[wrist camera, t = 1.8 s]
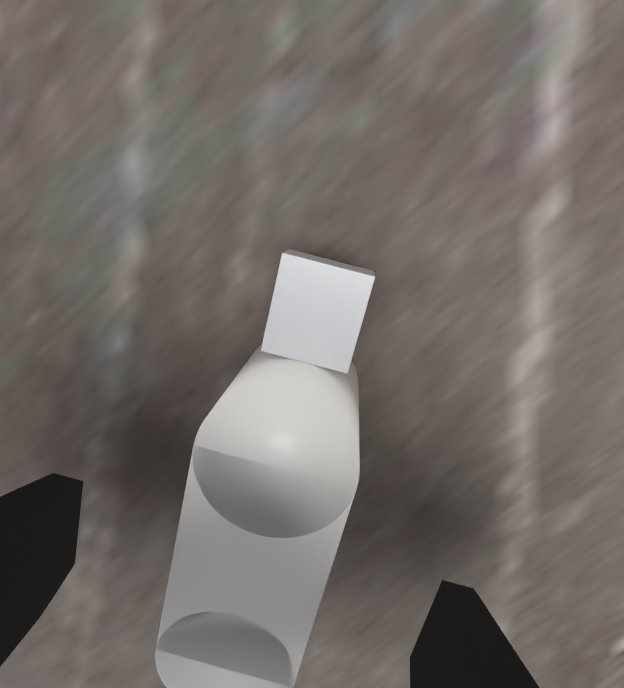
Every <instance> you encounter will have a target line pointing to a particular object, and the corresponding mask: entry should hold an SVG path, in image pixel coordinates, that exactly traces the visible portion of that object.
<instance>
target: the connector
mask: <svg viewBox="0 0 624 688" xmlns="http://www.w3.org/2000/svg"><path fill="white" fill-rule="evenodd" d="M374 279H375V274H374V271H372V270H368V269H364V268H360V267H356V266H353V265H349V264H345V263H341V262H337V261H333V260H329V259H326V258H322V257H318V256H314V255H310V254H306V253H302V252H298V251H295V250H291V249H289V250H287V251H285V252H283V253H282V257H281V262H280V266H279V271H278V275H277V280H276V284H275V289H274V293H273V298H272V302H271V307H270V311H269V316H268V320H267V325H266V329H265V334H264V338H263V343H262V344H261V345H260V346H259V347H258V348H257V349H256V350H255V351H254V353H253V354H252V355H251V357H250V358H249V360H248V361H247V362H246V364H245V365H244V366H243V368H242V369H241V370H240V372H239V373H238V375H237V376H236V377H235V379H234V380H233V381H232V383H231V384H230V385H229V387H228V388H227V389H226V391H225V392H224V394H223V395H222V396H221V398H220V399H219V400H218V402H217V403H216V404H215V406H214V407H213V408H212V410H211V411H210V413H209V414H208V415H207V417H206V418H205V420H204V421H203V423H202V424H201V426H200V428H199V430H198V432H197V435H196V438H195V442H194V445H193V451H192V456H191V462H190V467H189V472H188V478H187V483H186V488H185V494H184V499H183V504H182V510H181V515H180V521H179V526H178V531H177V537H176V542H175V547H174V553H173V558H172V564H171V569H170V574H169V580H168V585H167V590H166V596H165V601H164V607H163V612H162V617H161V623H160V628H159V633H158V639H157V644H156V650H155V664H156V668H157V672H158V674H159V677H160V679H161V680H162V682H163V684H164V685H165V687H166V688H293V686H294V683H295V680H296V677H297V674H298V671H299V668H300V665H301V661H302V658H303V655H304V652H305V649H306V646H307V643H308V640H309V636H310V633H311V630H312V627H313V624H314V621H315V618H316V614H317V611H318V608H319V605H320V602H321V599H322V596H323V593H324V589H325V586H326V583H327V580H328V577H329V574H330V571H331V568H332V564H333V561H334V558H335V555H336V552H337V549H338V546H339V543H340V539H341V536H342V533H343V530H344V527H345V524H346V521H347V518H348V514H349V511H350V508H351V505H352V502H353V499H354V496H355V492H356V489H357V485H358V481H359V472H360V457H359V385H358V376H357V371H356V368H355V365H354V363H353V361H352V356H353V352H354V349H355V345H356V342H357V339H358V335H359V332H360V328H361V325H362V321H363V318H364V314H365V311H366V307H367V304H368V300H369V297H370V293H371V290H372V286H373V283H374Z"/></svg>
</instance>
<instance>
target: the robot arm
mask: <svg viewBox="0 0 624 688" xmlns="http://www.w3.org/2000/svg"><path fill="white" fill-rule="evenodd" d="M82 488H83V481H80V480H77V479H73V478H69V477H66V476H62V475H58V474H55V473H53V474H50V475H48V476H46V477H43V478H41V479H39V480H36V481H34V482H32V483H30V484H27V485H25V486H23V487H21V488H19V489H16V490H14V491H12V492H10V493H8V494H5V495H3V496H1V497H0V666H1V665H2V664H3V662H4V661H5V660H6V659H7V657H8V656H9V655H10V654H11V653H12V651H13V650H14V649H15V648H16V646H17V645H18V644H19V643H20V641H21V640H22V639H23V638H24V636H25V635H26V634H27V633H28V631H29V630H30V629H31V628H32V626H33V625H34V624H35V622H36V621H37V620H38V619H39V617H40V616H41V615H42V613H43V612H44V610H45V609H46V607H47V606H48V604H49V603H50V601H51V600H52V598H53V597H54V595H55V594H56V592H57V591H58V589H59V588H60V586H61V584H62V583H63V581H64V580H65V578H66V577H67V575H68V573H69V572H70V570H71V569H72V567H73V565H74V564H75V556H76V546H77V536H78V527H79V517H80V507H81V497H82ZM410 688H539V686H538V685H537V683H536V682H535V680H534V679H533V677H532V676H531V674H530V673H529V671H528V670H527V669H526V667H525V666H524V664H523V663H522V661H521V659H520V658H519V656H518V655H517V653H516V652H515V650H514V649H513V647H512V646H511V644H510V643H509V641H508V640H507V638H506V637H505V635H504V634H503V632H502V631H501V629H500V628H499V626H498V624H497V623H496V621H495V620H494V618H493V617H492V615H491V614H490V612H489V611H488V609H487V608H486V606H485V605H484V603H483V602H482V600H481V599H480V597H479V596H478V594H477V593H476V591H475V590H474V589H473V588H469V587H466V586H462V585H458V584H455V583H451V582H447V581H444V580H442V582H441V585H440V587H439V589H438V592H437V594H436V597H435V599H434V601H433V604H432V606H431V608H430V611H429V613H428V616H427V618H426V620H425V623H424V625H423V627H422V630H421V632H420V635H419V637H418V639H417V642H416V644H415V647H414V649H413V651H412V654H411V656H410Z"/></svg>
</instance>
